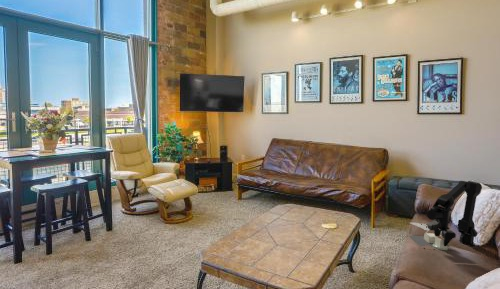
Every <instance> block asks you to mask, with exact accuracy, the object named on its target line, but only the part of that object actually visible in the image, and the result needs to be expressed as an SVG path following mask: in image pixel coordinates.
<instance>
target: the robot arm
mask: <svg viewBox="0 0 500 289" xmlns="http://www.w3.org/2000/svg"><path fill="white" fill-rule="evenodd" d="M482 189H483V185H482V184H481V183H480V182H476V181H471V180H468V181H465V180H459V182H458V183H457V184H455V186H454V187H453V188H452V189H451V190H449V192H447V193H444V194H442V195H440V196H438V197H437V199H436V200H435V202H434V203H433V206H432V207H431V208H430V209H429V210H428V211H427V212H426V216H427V219H429V220H431V221H430V222H426V224H427V227H428V229H430V230H429V231H433V233H434V235H435V236H440V235H441V236H442V237H443V238H444V246H448V244H449V243H450V242H451V241H452V240H453V239H455V238H456V237H457V233H456V232H454V231H453V230H450V227H449V224H450V223H451V220H449V219H450V212H452V207H453V206H454V204H455V200H456V199H457V198H458V197H459V196H460V195H462V193H464V192H465V194H466V199H465V203H464V204H465V205H464V209H463V216H462V218H461V219H458V221H457V232H458V233H460V235H459V240H458V241H459V242H460V243H461V244H463V245H465V246H466V245H467V246H472V247H473V246H474V247H475V246H476V244H475V243H474V238H476V237H477V236H478V231H477V230H476V228H475V225H476V224H475V222H474V220H473V218H474V213H475V206H476V201H477V197H478V196H479V195H481V192H482ZM441 232H442V233H441Z"/></svg>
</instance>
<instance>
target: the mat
mask: <svg viewBox="0 0 500 289" xmlns="http://www.w3.org/2000/svg"><path fill="white" fill-rule="evenodd" d="M408 237H409V238H410V240H412V241H413V242H414V243H416V244H417V245H418V246H419V247H422V246H425V245H426V246H427V245H429V246H431V247H433V246H432V245H433V243H428V242H427V241H426V240H425V239H424V235H408ZM437 251H440V250H439V249H438V250H437ZM447 251H452V252H453V249H452V248H450V247H449V249H448V250H447Z"/></svg>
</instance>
